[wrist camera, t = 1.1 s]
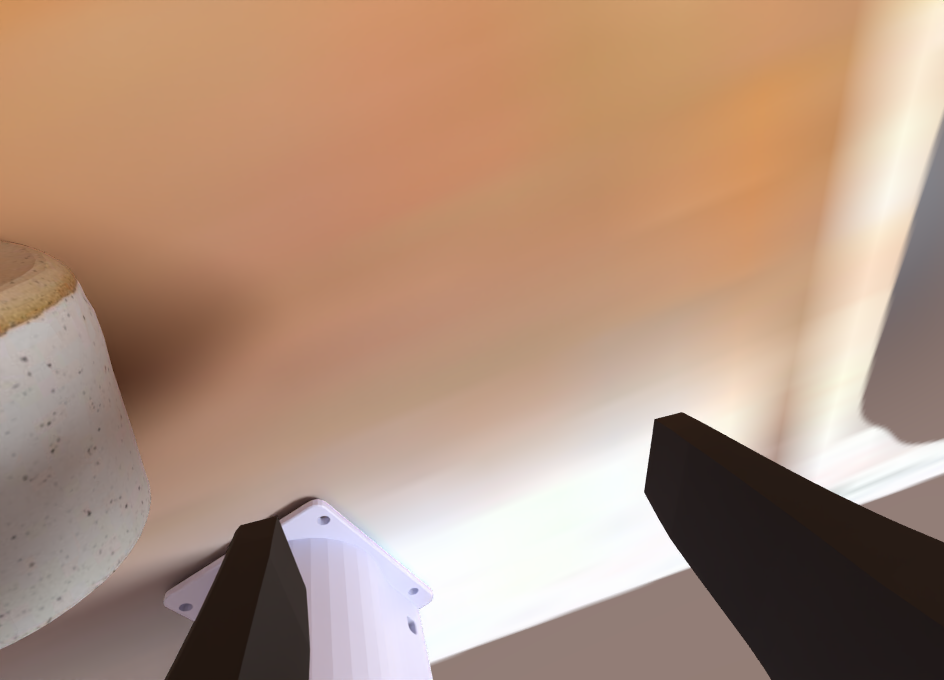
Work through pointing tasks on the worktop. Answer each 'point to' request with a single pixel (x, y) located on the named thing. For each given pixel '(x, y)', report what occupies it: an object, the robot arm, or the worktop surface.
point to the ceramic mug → (59, 447)
